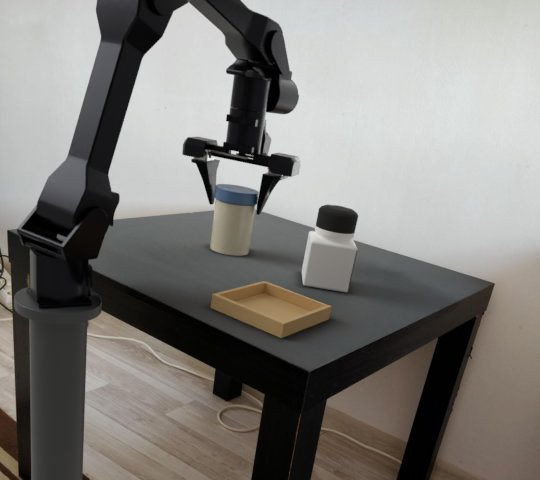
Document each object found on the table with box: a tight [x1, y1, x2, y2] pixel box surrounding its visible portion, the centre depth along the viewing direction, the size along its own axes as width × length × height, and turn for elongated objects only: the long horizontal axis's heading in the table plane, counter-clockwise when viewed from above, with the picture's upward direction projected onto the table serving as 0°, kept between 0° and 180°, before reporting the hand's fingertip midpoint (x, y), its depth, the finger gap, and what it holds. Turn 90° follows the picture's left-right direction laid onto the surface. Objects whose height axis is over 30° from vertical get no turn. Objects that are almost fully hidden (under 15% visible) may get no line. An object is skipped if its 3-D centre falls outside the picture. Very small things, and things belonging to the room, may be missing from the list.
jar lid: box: [214, 183, 259, 206], centre depth 97 cm, size 7×7×2 cm
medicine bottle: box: [301, 204, 359, 293], centre depth 90 cm, size 7×7×12 cm
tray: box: [210, 280, 332, 339], centre depth 75 cm, size 11×11×2 cm
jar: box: [209, 198, 257, 257], centre depth 99 cm, size 7×7×10 cm
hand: (234, 209), depth 99 cm, fingers open, 8 cm apart
